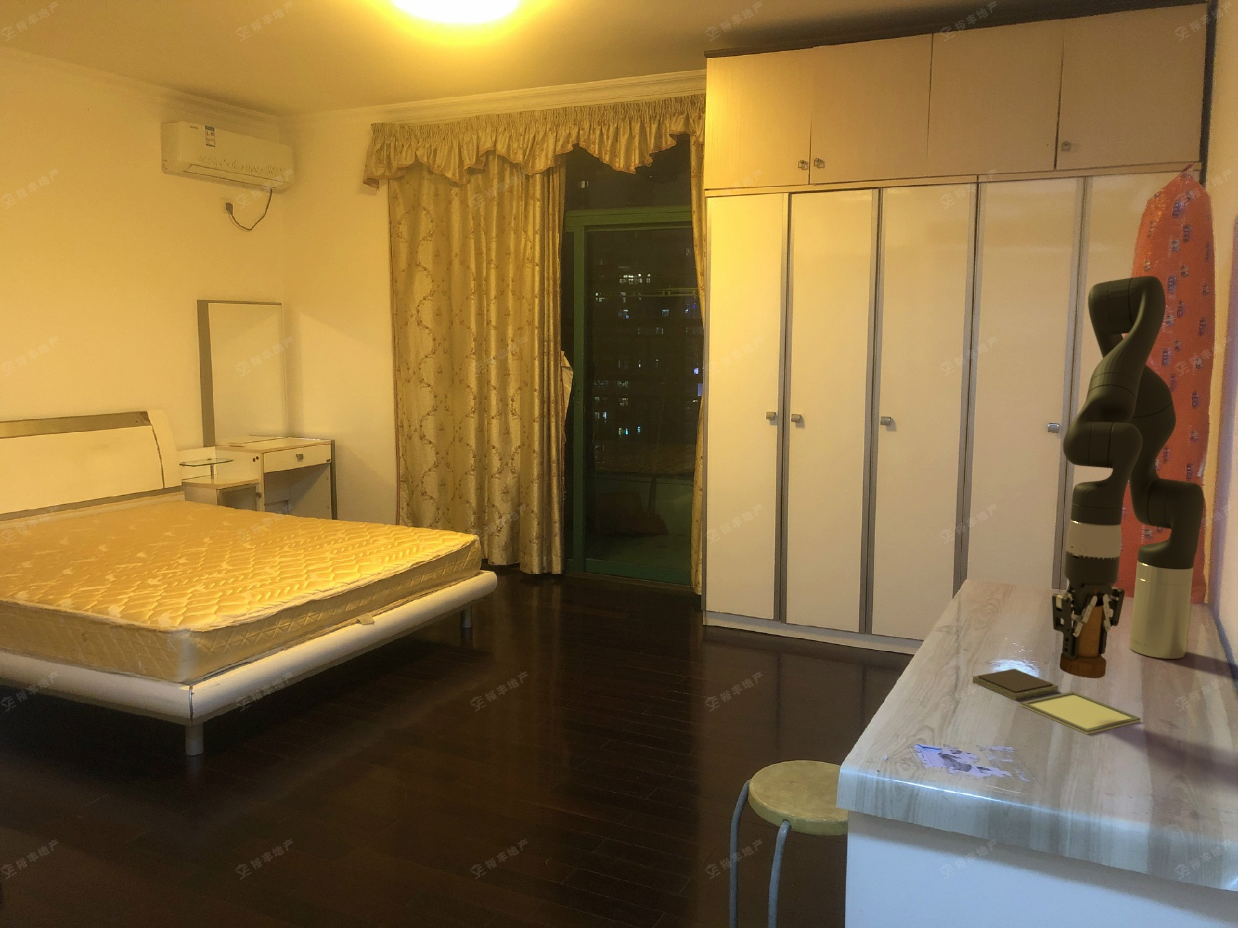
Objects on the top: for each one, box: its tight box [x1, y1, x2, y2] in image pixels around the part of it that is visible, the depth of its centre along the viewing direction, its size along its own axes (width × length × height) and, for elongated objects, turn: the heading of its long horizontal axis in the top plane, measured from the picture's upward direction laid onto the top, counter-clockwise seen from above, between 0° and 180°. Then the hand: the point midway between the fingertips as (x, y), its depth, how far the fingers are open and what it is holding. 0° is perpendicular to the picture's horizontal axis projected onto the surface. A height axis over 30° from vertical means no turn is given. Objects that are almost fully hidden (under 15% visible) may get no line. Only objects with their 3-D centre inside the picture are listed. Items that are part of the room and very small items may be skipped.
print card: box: [1019, 690, 1142, 735], centre depth 148 cm, size 12×12×1 cm
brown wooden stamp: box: [1059, 589, 1107, 679], centre depth 146 cm, size 7×6×18 cm
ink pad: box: [972, 668, 1059, 701], centre depth 159 cm, size 10×9×1 cm
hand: (1083, 654), depth 147 cm, fingers closed on brown wooden stamp, 5 cm apart
